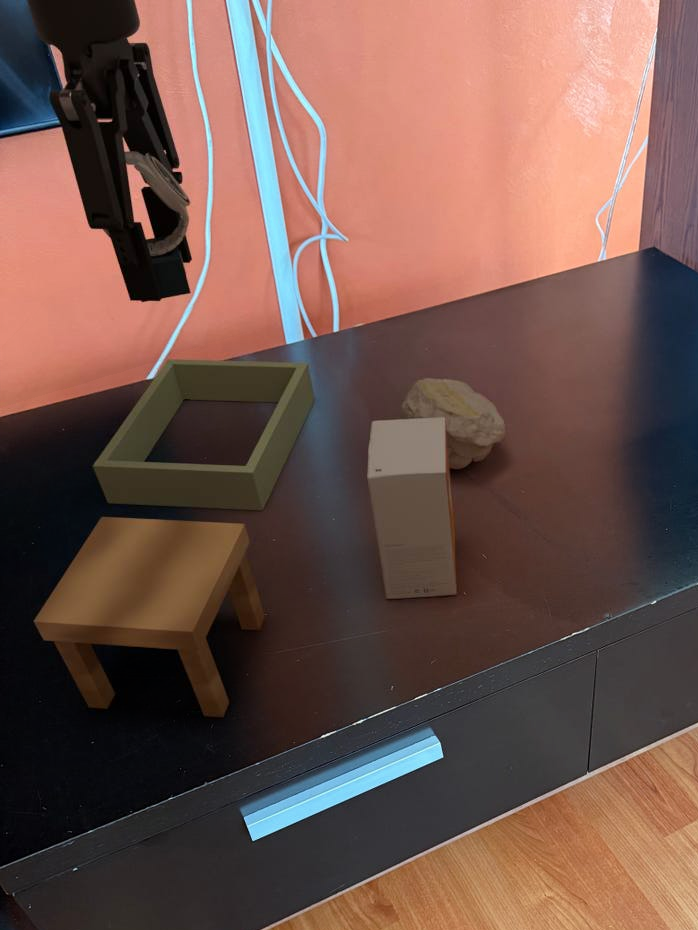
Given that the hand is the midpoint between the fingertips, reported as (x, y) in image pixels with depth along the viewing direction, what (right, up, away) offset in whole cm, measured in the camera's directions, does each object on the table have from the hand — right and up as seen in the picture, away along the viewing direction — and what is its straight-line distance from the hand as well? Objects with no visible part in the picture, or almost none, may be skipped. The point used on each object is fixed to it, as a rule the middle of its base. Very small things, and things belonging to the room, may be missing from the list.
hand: (162, 278), depth 86 cm
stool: (+4, -34, -7) cm, 35 cm away
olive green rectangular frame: (+1, -12, +14) cm, 19 cm away
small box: (+23, -26, -1) cm, 35 cm away
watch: (0, 0, +1) cm, 1 cm away
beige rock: (+26, -13, +12) cm, 32 cm away
